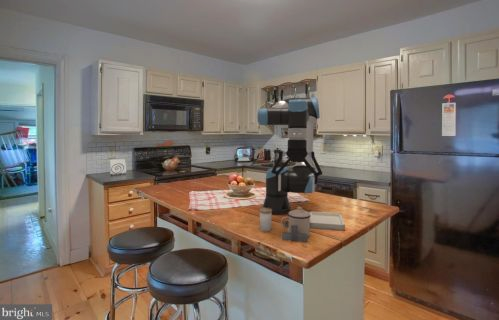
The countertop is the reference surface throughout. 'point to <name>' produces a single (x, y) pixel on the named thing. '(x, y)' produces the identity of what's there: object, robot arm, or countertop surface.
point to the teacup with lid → (298, 220)
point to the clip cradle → (293, 234)
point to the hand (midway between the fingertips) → (296, 191)
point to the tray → (326, 221)
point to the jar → (265, 219)
